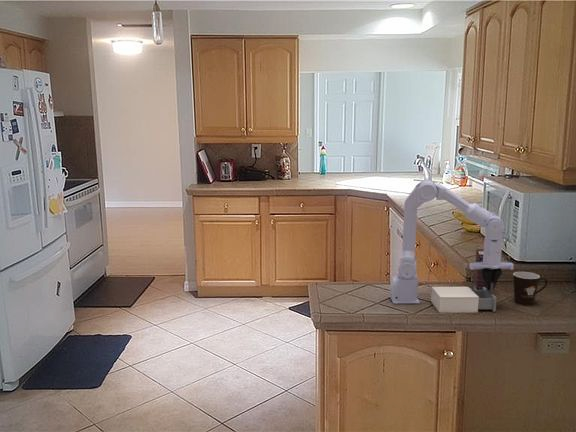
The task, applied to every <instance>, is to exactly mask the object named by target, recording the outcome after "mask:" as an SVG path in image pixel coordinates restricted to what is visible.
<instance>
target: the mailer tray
mask: <svg viewBox="0 0 576 432" xmlns="http://www.w3.org/2000/svg"><path fill="white" fill-rule="evenodd" d="M493 285H494V283H493V282H492V281H491V282H490V290H487V289H486V288H485V287H483V290H474V289H471V290H472V291H473V292H474V293H475V294H476V295H477V296H478V297H479V301H478V310H490V311H492V312H497V296H496V295H494V290H493Z"/></svg>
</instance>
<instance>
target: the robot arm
mask: <svg viewBox="0 0 576 432" xmlns="http://www.w3.org/2000/svg"><path fill="white" fill-rule="evenodd" d="M434 199H436V200H437V201H446V202H448V203H449V204H450V205H453V206H454V207H456V208H458V209H460V210H461V211H463V212H464V217H465V218H467V219H468V220H470V221H471V222H473V223H474V224H476V225H478V226H479V227H481V228H485V234H484V240H483V241H484V242H483V249H484V253H483V262H476V261H475V262H469V269H470V270H474V271H475V269H480V270H481V272H482V274H483V277H484V280H485V285H486V289H487V290H490V282H491V281H492V282H493V283H494V285H493V291H494V290H495V287H496V285H497V282H498V280H499V278H500V277H501V276H502V275H503V271H502V270H514V266H515V265H514V263H512V262H506V261H505V262H503V261H502V250H503V249H502V245H503V232H504V231H505V228H506V227H505V223H504V222H503V220H502V219H501V217H499V216H498V215H497V214H495V213H494V212H493V211H492V212H491V211H489V210H487V209H486V208H485V207H484V205H483V204H482V203H476V202H473V203H469V202H468V201H467V200H465V199H463V198H462V197H460V196H459V195H458V194H456V193H454V192H453V191H452V190H450V189H449V188H447V186H446V187H445V186H444V185H442V184H440V183H438V182H435V181H434V180H432V179H429V178H428V179H424V180H422V181H420V182H419V183H417V184H416V185H415V186H414V188H413V189H412V190H411V192H410V193H409V195H408V196H407V197H406V198H405V200H404V206H403V207H404V209H403V210H404V211H403V226H402V229H403V231H402V248H401V249H402V251H401V259H400V260H399V265H398V269H397V270H398V273H397V275H394V276H391V277H390V284H389V298H390V300H391V301H392V303H393V304H421V302H420V299H418V282H419V280H418V279H419V275H418V274H417V273H418V272H417V268H418V267H417V266H418V262H417V258H416V239H417V237H416V235H417V224H418V223H417V221H418V208H419V207H421V206H422V205H423V204H425V203H427V202H430V201H432V200H434Z"/></svg>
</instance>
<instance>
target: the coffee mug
mask: <svg viewBox="0 0 576 432" xmlns="http://www.w3.org/2000/svg"><path fill="white" fill-rule="evenodd" d="M512 276H513V296H514V297H513V298H514V299H513V300H514V303H516V304H518V305H522V306H533V305H534V304H535V299H536V296H537V294H538V293H540V292H541V291H543V290H544V289H545V288H546V287H547V286H548V279H546V278H544V277H541V276H540V275H539V274H536V273H535V272H529V271H528V272H527V271H515V272H513V274H512ZM543 280H544V282H545V284H544V285H543V287H541V288H540V289H538V286H539V282H540V281H543Z"/></svg>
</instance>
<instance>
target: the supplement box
mask: <svg viewBox="0 0 576 432" xmlns="http://www.w3.org/2000/svg"><path fill="white" fill-rule="evenodd" d="M483 253H484V248H482V249H481V248H480V249H479V248H476V251H475V263H476V262H483ZM473 278H474V279H473V280H474V281H473V290H483V287H485V288H486V285H485V280H484V277H483V274H482V272H481V270H480V269H474V277H473Z"/></svg>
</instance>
